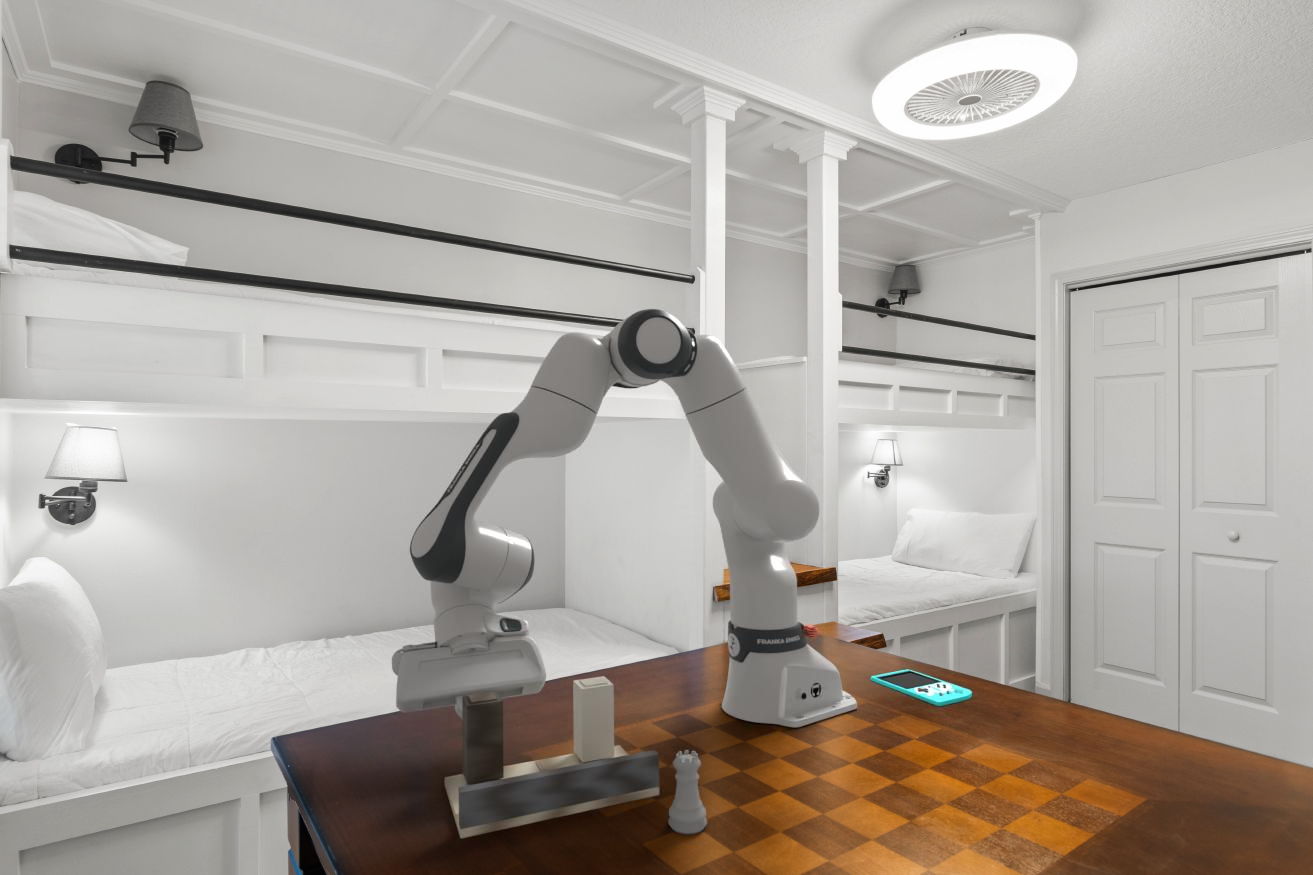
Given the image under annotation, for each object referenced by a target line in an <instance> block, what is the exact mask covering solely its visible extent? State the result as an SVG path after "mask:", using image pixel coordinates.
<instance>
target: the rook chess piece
mask: <svg viewBox="0 0 1313 875" xmlns="http://www.w3.org/2000/svg"><path fill="white" fill-rule="evenodd" d="M683 751H684V752H683ZM683 751H682V750H679V751H677V753H675V759H674V760H673V761H672V766H673V767H674V768H675V770H676V773H675V775H674V778H675V780H676V788H675V789H676V790H675V795H674V800H673V801H672V805H671V806H670V807H669V810H668V817H669V818H668V819H667V821H668V822H667V823H668V825H669V826H670V828H671V829H672V830H673V832H675V833H678V834H682V835H684V836H685V835H695V834H699V833H700V832H702V831H703V830H704V829H705V827H706V825H707V824H708V819H707V818H706V817H707V811H706V807H705V806H704V805H703V801H702V800H701V798H700V791H699V784H698V782H699V779H700V775H699V773H698V770H699V768H700V767H701V766H702V762H701V760H700V758H699V754H698V753H697V752H696V750H692V751H691V753H689V752H690V751H689V749H684V750H683Z"/></svg>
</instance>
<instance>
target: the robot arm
mask: <svg viewBox="0 0 1313 875" xmlns="http://www.w3.org/2000/svg"><path fill="white" fill-rule="evenodd" d="M660 381H661V382H663V383H665V384H666V385H667V386H669V387H670V388H671V389H672V390H673V392H674V393H675V395H676V396H677V398H678V400H679V403H680V406H681V407H682V408H681V409H683V410H682V411H683V412H684V414H685V417H686V420H687V421H688V424H689V426H690V428H691V431H692V433H693V435H694V437H695V439H696V442H697V444H698V446H699V449H700V452H701V453H702V455H703V457H704V458H705V460H706V461H708V462H709V464H710V465H711V466H712V467H713V468H714V470H715V471H716V473H717V474H718V475H719V477H721V480H722V482H721V483H720V484H718V486H717V487H716V489H715V491H714V494H713V496H712V508H713V509H712V510H713V512H714V515H715V517H716V518H717V520H718V521H717V522H718V523H719V526H720V532H721V536H722V541H723V542H722V543H723V547H724V548H723V549H724V551H725V552H724V553H725V556H726V562H727V568H728V574H729V597H730V598H729V600H730V601H729V602H730V603H729V604H730V608H729V609H730V612H729V613H730V620H729V621H727V622H728V623H727V648H728V650H727V651H728V656H729V664H728V673H727V682H726V686H725V691H724V696H723V700H722V704H721V708H722V710H723V711H724V712H725V713H726V714H728V715H729V716H732V717H733V718H737V719H739V720H743V721H746V722H751V723H760V724H773V725H780V726H783V727H789V728H801V727H803V726H807V725H810V724H813V723H815V722H819V721H823V720H825V719H828V718H831V717H834V716H837V715H842V714H843V713H844V714H845V713H847V712H850V711H853V710H856V709H858V702H857V700H856V699H855V697H854V696H852V694H850V693H848V692H847V691H845V690H843V685H842V680H841V679H842V678H841V676H840V672H839V670H838V669H837V667H836V665H834V663H832V662H831V661H830V660H829V659H828V658H827V657H825V656H823V655H822V654H821V653H820V652H818V651H817V650H815V649H814V648H813V647H812V646H810V645H809V644H808V641H807V639H806V637H809V638H811V639H813V640H815V639H817V638H818V636H819V635H820V628H818V627H817V626H815V625H812V624H810V623H809V624H803V623H802V622H800V621H798V588H797V587H798V578H797V574H796V572H795V569H794V568H793V566H792V565H791V562H790V560H789V556H788V554H787V550H786V546H785V543H791V542H795V541H799V540H801V539H804V538H805V537H806V536H808V535H809V534H810V533H811V532H812V531H813V530H814V528H815V527H816V525H817V523H818V519H819V517H820V503H819V499H818V497H817V495H816V493H815V491H814V490H813V488H812V487H811V486H810V485H808V484H807V483H806V482H805V481H804V480H803V479H802V478H801V477H799V475H798V474H797V473H796V472H795V470H794V469H793V468H792V466H791V465H790V463H789V461H787V459H786V458H785V456H784V454H783V453H782V452H781V451H780V449H779V448H778V445H776V443H775V442H774V440H773V439H772V437H771V436H770V434H769V432H768V430H767V429H766V428H765V425H764V422H763V420H762V419H761V416H760V414H759V412H758V410H757V408H756V405H755V403H754V400H753V399H752V396H751V393H750V391H749V389H748V387H747V385H746V383H745V381H744V378H743V376H742V374H741V373H740V370H739V368H738V367H737V365H736V363H735V362H734V359H733V358H732V356H731V355H730V354H729V352H728V350H727V349H726V347H725V346H724V345H723V343H722V342H721V341H720V340H719V338H717V337H715V336H714V335H710V334H696V335H695V334H694V333H693V332H692V331H691V330H689V329H688V328H686V327H685V326H684V325H683V323H682V322H681V321H680V320H679V319H678V318H676V317H675V315H672V314H671V313H669V312H667V311H665V310H662V309H657V308H648V309H642V310H638V311H636V312H634V313H632V314H631V315H629V316H628V317H625V318H624V319H623V320H621V321H620V322H619V323H617V325H615V327H614V328H613V329H612V330H611V331H610V332H608V333H607V334H606V335H605V336H603V337H602V338H600V337H598V338H597V337H596V336H594V335H591V334H588V333H586V332H576V331H574V332H568V333H564V334H563V335H561V336H560V337H559V338H558V339H557V340H556V342H554V344H553V346H552V347H551V348H550V350H549V352H548V353H547V355H546V356H545V358H544V360H543V362H542V363H541V365H540V367H539V369H538V370H537V372H536V375H535V376H534V379H533V381H532V383H531V385H530V387H529V389H528V392H527V393H526V394H525V396H524V398H523V400H522V401H520V403H519V404H518V405H517V406H516V407H515V408H514V409H513V410H512V411H510V412H503V413H501V414H499V415H497V416H496V417H495V418H494V419H493V420H492V421H491V422H490V423H489V425H488V426H487V428H485V430H484V432H483V433H482V434H481V435H480V437H479V438H478V440H477V442H476V443H475V445H474V446H473V447H472V448H471V451H470V452H469V454H468V455H467V457H466V459H465V460H464V461H463V463H462V464H461V466H460V468H459V469H458V470H457V472H456V474H455V476H454V477H453V479H452V480H451V482H450V483H449V485H448V487H447V488H446V490H445V491H444V493H443V494H442V496H441V497H440V499H439V500H438V501H437V503H436V504H435V505H434V506H433V507H432V509H431V510H430V511H429V512H428V513H427V515H426V516H425V517H424V518H423V519H422V521H420V523H419V524H418V526H417V528H416V529H415V531H414V533H413V535H412V538H411V540H410V545H409V553H410V557H411V558H410V559H411V561H412V563H413V566H414V568H415V569H416V570H417V572H418V573H419V575H420V576H421V578H423V580H425V581H429V582H430V597H431V604H432V607H433V609H434V611H435V617H434V620H433V631H434V632H433V633H434V642H431V641H430V642H424V643H419V644H407V645H403V646H402V648H399V649H397V650H396V651H395V652H394V653H393V655H392V657H391V670H392V672H393V673H394V674H395V675H396V676H397V679H396V688H395V689H396V694H395V707H396V709H398V710H399V711H400V712H401V713H402V714H406V713H412V712H417V711H418V712H419V711H425V710H426V711H427V710H431V709H439V708H443V707H444V708H445V707H451V706H453V707H454V709H455V713H456V714H457V715H458V716H459V718H461V720H462V696H468V695H475V694H482V693H489V692H496V691H497V692H498V694H499V695H500V697H501V698H502V699H506V698H514V697H521V696H528V695H534V694H538V693H540V692H541V691H542V689H543V687H544V686H545V683H546V679H547V672H546V667H545V663H544V659H543V657H542V653H541V650H540V648H539V646H538V644H537V642H536V641H535V640H534V638H532V637H530V624H529V622H528V621H527V620H525V619H523V618H516V617H509V616H505V615H501V614H497V613H495V611H494V607H495V606H496V604H501V603H504V602H505V601H507V600H509V599H510V598H511V597H513V596H514V595H515V594H517V593H519V591H521V590H522V589H523V588H525V587H526V585H527V584H529V582H530V581H531V579H532V577H533V574H534V570H535V553H534V547H533V544H532V542H531V541H530V540H529V538H528V537H527V536H526V535H523V534H521V533H518V532H515V531H513V530H510V529H506V528H504V527H502V526H496V525H493V524H491V523H488V522H484V521H482V520H479V519H476V518H475V514H476V513H477V510H478V509H479V508H480V506H481V504H482V503H483V501H484V500H485V498H486V496H487V494H488V493H489V491H490V490H491V488H492V486H493V485H494V483H495V482H496V480H497V478H498V477H499V475H500V474H501V472H502V471H503V470H504V469H505V468H506V467H507V466H508V465H510V464H512V463H513V462H515V461H518V460H522V459H523V460H524V459H530V458H532V459H534V458H535V459H536V458H540V459H541V458H543V459H544V458H556V457H561V456H565V455H567V454H570V453H572V452H574V451H576V450H577V449H578V448H580V447H581V446H582V445H583V443H584V442H585V441H586V439H587V438H588V435H589V434H590V432H591V430H592V427H593V425H594V423H595V420H596V417H597V415H598V413H599V412H600V407H601V405H602V402H603V399H604V397H605V396H606V395H607V393H608V391H609V390H610V389H611V388H612V387H616V388H622V389H629V390H630V389H638V388H642V387H647V386H650V385H654V384H656V383H658V382H660Z"/></svg>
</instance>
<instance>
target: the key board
mask: <svg viewBox="0 0 1313 875" xmlns="http://www.w3.org/2000/svg"><path fill="white" fill-rule="evenodd" d="M444 788H445V791H446V794H447V798H448V800H449V801H448V802H449V805H450V807H451V810H452V814H453V817H454V821H455V824H456V827H457V831H458V835H459V838H460V839H465V838H470V837H475V836H479V835H482V834H483V835H484V834H487V833H493V832H497V831H501V830H507V829H511V828H514V827H515V828H516V827H520V826H524V825H529V824H533V823H537V822H542V821H547V820H551V819H555V818H560V817H564V816H565V817H566V816H570V815H574V814H578V813H583V812H587V811H588V812H589V811H591V810H597V809H601V808H605V807H610V806H615V805H619V804H624V803H629V802H634V801H638V800H642V799H647V798H652V797H657V796H660V754H659V752H657V750H655V749H652V750H647V751H641V752H637V753H631V754H629V753H628V752H627V751H626V750H625V749H624V748H623V747H622V746H621V744H617V745H614V757H609V758H604V759H599V760H594V761H588V762H583V763H582V761H581V760H580V759H579V757H578V756H577V755H576V753H575V752H574V753H570V754H569V753H568V754H564V755H558V756H554V757H552V756H551V757H548V758H543V759H542V758H541V759H538V760H537V759H536V760H531V761H526V762H520V763H515V764H510V765H509V764H508V765H504V778H499V779H494V780H489V781H484V782H478V783H473V784H468V785H467V782H466V779H465V777H464V774H463V773H460V774H456V775H455V774H454V775H450V776H444Z"/></svg>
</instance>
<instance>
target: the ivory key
mask: <svg viewBox="0 0 1313 875" xmlns="http://www.w3.org/2000/svg"><path fill="white" fill-rule="evenodd" d="M572 682H573V685H572V687H573V689H572V690H573V691H572V692H573V693H572V694H573V698H572V699H573V700H572V701H573V708H572V709H573V711H572V712H573V752H574V753H576V755H577V756H578V757H579V759H580V760H581V761H582V763H583V762H588V761H594V760H599V759H604V758H609V757H614V746H615V704H614V703H615V701H614V700H615V693H614V692H615V691H614V690H615V687H614V686H615V685H614V684H613V682H611V680H609V679H608V678H607V677H606V676H604V675H602V676H596V677H590V678H589V677H588V678H583V679H575V680H573V681H572Z"/></svg>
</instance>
